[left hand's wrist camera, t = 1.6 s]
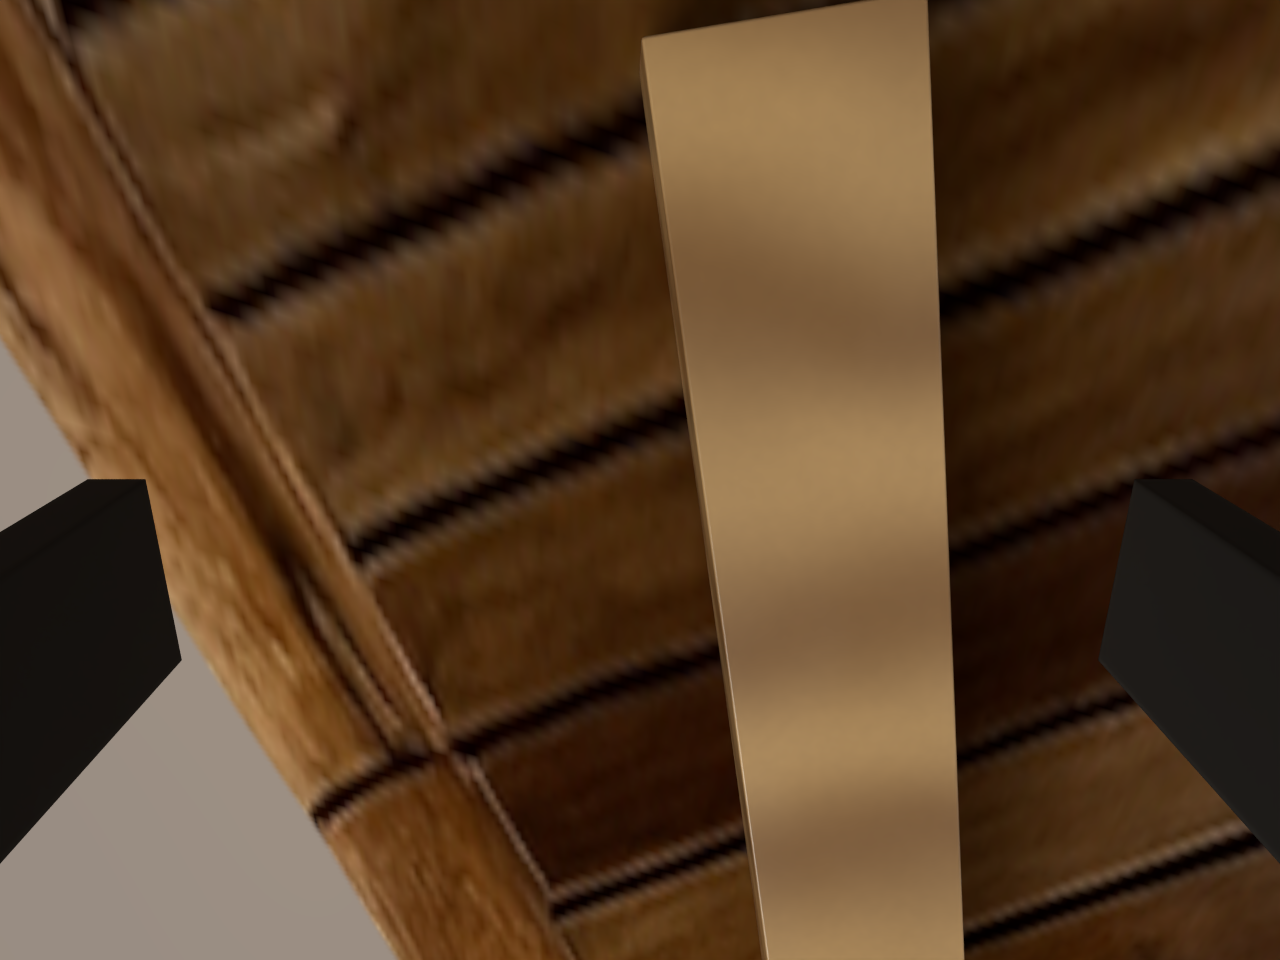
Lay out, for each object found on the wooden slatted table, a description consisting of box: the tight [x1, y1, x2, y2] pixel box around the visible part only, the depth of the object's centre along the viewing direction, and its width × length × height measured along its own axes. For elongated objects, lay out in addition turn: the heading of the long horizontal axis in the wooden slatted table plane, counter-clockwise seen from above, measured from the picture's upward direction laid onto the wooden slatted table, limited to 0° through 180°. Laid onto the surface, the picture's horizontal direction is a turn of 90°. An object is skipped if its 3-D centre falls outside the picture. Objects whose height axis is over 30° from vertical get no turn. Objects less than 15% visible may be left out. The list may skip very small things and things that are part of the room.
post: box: [639, 0, 964, 960], centre depth 31 cm, size 58×6×8 cm, turn 9°
